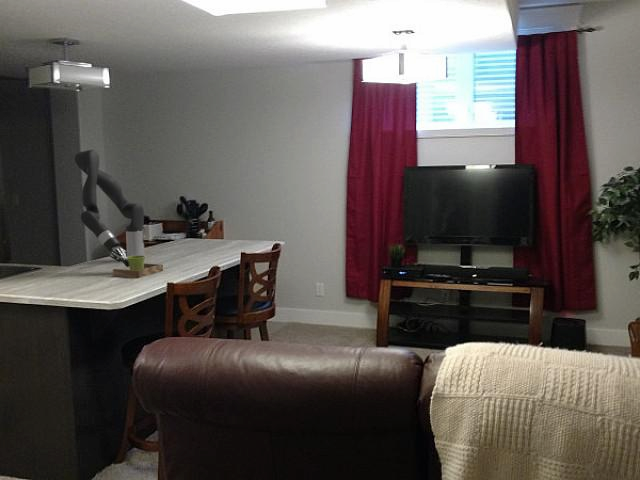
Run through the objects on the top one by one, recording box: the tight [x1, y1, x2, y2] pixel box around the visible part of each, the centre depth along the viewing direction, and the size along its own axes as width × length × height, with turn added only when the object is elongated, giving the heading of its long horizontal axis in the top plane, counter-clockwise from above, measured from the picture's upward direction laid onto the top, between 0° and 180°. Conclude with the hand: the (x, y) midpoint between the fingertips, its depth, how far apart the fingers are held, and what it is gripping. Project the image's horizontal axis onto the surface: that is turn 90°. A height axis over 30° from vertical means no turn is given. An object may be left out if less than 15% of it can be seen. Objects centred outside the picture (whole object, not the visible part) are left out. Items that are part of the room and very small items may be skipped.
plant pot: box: [127, 255, 147, 270], centre depth 314 cm, size 9×9×9 cm
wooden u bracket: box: [112, 262, 164, 279], centre depth 313 cm, size 20×15×4 cm
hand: (129, 265), depth 315 cm, fingers closed
